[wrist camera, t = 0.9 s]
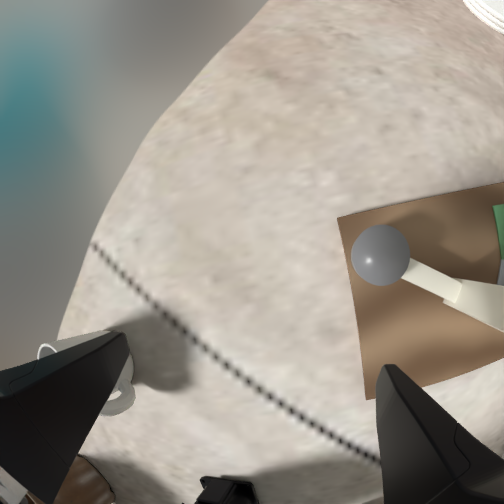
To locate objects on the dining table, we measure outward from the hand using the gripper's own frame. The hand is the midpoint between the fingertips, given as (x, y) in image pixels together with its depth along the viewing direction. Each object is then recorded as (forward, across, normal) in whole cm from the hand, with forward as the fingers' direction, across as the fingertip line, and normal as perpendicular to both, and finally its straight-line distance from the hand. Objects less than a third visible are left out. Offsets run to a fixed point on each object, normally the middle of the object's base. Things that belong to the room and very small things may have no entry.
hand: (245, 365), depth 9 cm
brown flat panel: (+12, -14, +2) cm, 19 cm away
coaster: (+22, -29, -33) cm, 49 cm away
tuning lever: (+10, -13, +2) cm, 17 cm away
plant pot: (+5, +30, +44) cm, 54 cm away
